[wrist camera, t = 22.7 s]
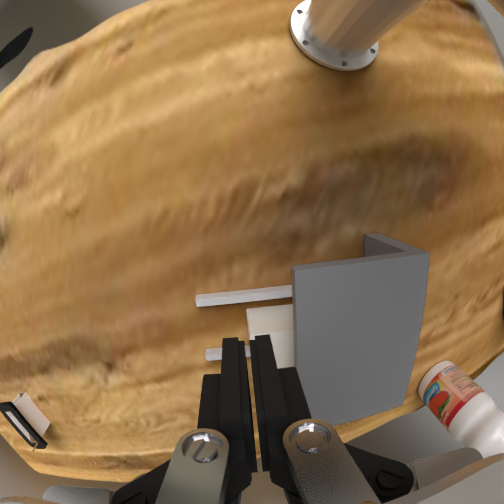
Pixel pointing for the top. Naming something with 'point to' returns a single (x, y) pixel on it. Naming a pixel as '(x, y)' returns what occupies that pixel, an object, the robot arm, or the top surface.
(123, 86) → the top surface
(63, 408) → the top surface
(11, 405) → the architectural model
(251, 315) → the cream rectangular prism
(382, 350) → the overhang shelf
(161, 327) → the top surface
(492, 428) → the fruit juice
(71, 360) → the top surface
